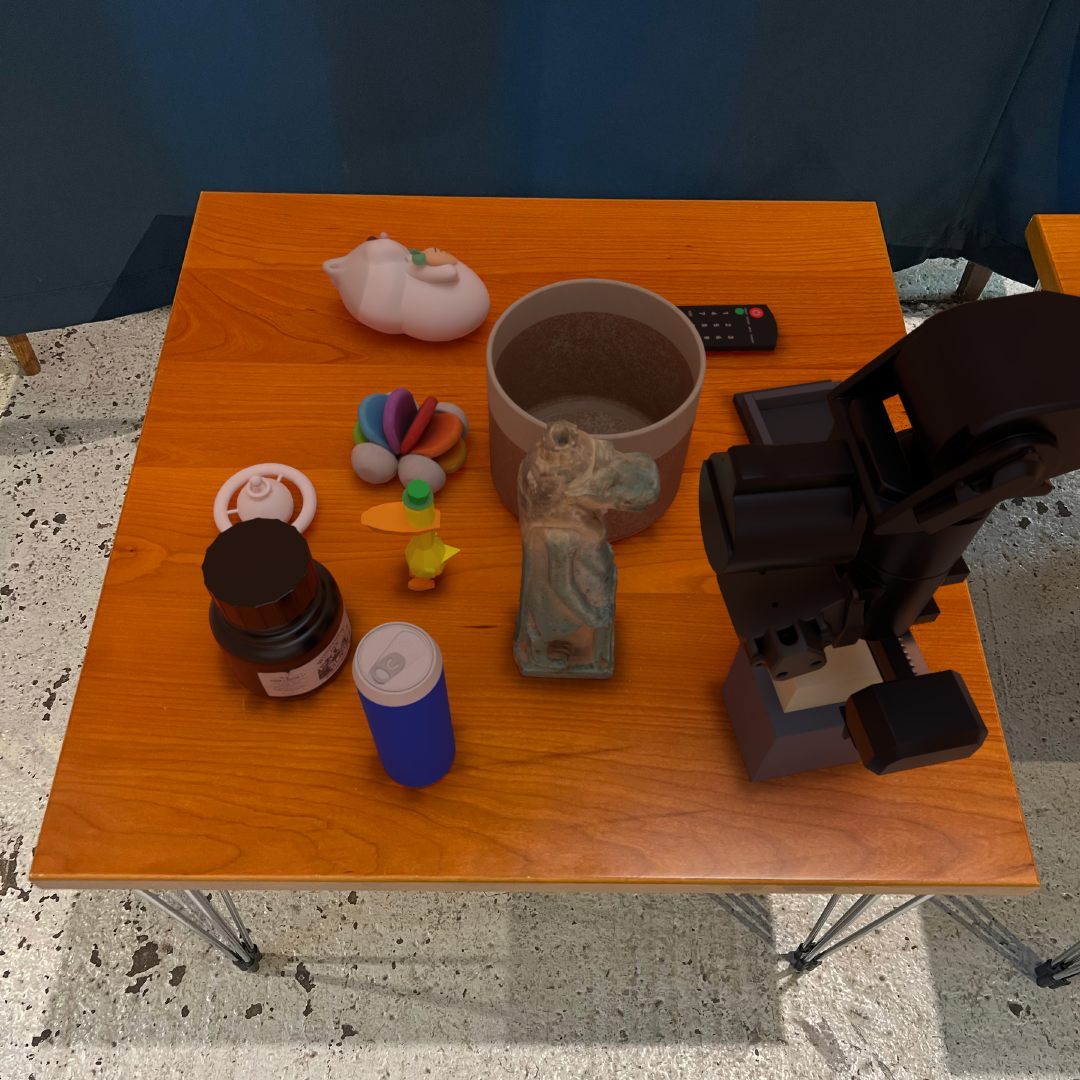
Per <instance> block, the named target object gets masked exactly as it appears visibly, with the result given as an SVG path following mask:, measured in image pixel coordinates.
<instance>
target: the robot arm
mask: <svg viewBox="0 0 1080 1080" xmlns="http://www.w3.org/2000/svg"><path fill="white" fill-rule="evenodd" d="M842 381H843V382H842V383H840V384H839V385H838V386H836V387H835V388H834V389H832V390H831V391H830V392H828V393H827V394H826V401H827V404H828V407H829V409H830V412H831V415H832V418H833V420H834V424H833V426H832V429H831V431H830V434H829V436H828V438H827V440H826V441H817V442H805V443H792V444H779V445H770V444H750V443H747V444H746V443H744V444H733V445H731V446H730V447H728V448H727V449H726V451H716V452H712V453H710V454H709V456H708V458H707V459H703V460H702V463H701V466H700V472H699V477H698V479H699V480H698V516H699V524H700V525H699V526H700V532H701V540H702V544H703V549H704V552H705V555H706V558H707V562H708V564H709V566H710V568H711V569H712V571H713V572H714V574H715V576H716V582H717V585H718V589H719V591H720V594H721V597H722V599H723V602H724V606H725V608H726V611H727V613H728V617H729V619H730V622H731V625H732V628H733V630H734V633H735V635H736V637H737V640H738V642H739V645H741V647H742V650H743V652H744V653H745V654H746V656H747V659H748V661H749V664H750V667H751V668H752V669H759V668H767V669H768V670H769V672H770V674H771V677H772V679H773V680H775V681H785V680H788V679H791V678H794V677H797V676H801V675H804V674H807V673H810V672H813V671H816V670H819V669H821V668H822V667H823V666H825V665H826V663H827V658H826V654H825V652H824V649H825V647H827V646H829V645H832V647H833V649H834V648H839V647H845V646H850V645H854V644H856V643H857V642H858V640H859V639H862V640H865V641H866V644H867V646H868V648H869V651H870V653H871V655H872V657H873V660H874V662H875V664H876V667H877V669H878V671H879V674H880V676H881V678H882V680H883V682H881V683H876V684H872V685H869V686H867V687H865V688H863V689H861V690H859V691H857V692H855V693H853V694H851V695H850V696H849V698H848V699H847V701H846V702H845V705H844V706H839V707H838V708H839V711H840V713H841V715H842V718H843V720H844V723H845V726H844V728H843V732H842V736H843V739H844V740H848V739H851V740H852V743H853V745H854V747H855V749H856V750H857V751H858V753H859V755H860V758H861V760H860V761H861V763H862V765H863V768H864V769H865V770H867V771H869V772H871V773H872V774H875V775H876V776H878V777H881V776H885V775H891V774H895V773H896V774H897V773H900V772H905V771H910V770H916V769H920V768H924V767H929V766H934V765H940V764H945V763H950V762H954V761H959V760H964V759H970V758H971V757H972V756H973V755H974V754H975V753H976V752H977V751H979V750H980V748H981V747H983V745H984V743H985V741H986V739H987V737H988V735H989V732H990V731H989V730H988V728H987V725H986V723H985V721H984V719H983V717H982V715H981V713H980V711H979V709H978V707H977V704H976V702H975V700H974V698H973V696H972V695H971V692H970V690H969V688H968V686H967V684H966V682H965V680H964V678H963V676H962V674H961V673H960V672H957V671H956V670H954V669H952V668H950V669H949V668H948V669H945V670H944V669H943V670H939V671H934V672H931V671H930V669H929V666H928V664H927V662H926V660H925V658H924V655H923V654H922V651H921V649H920V647H919V645H918V643H917V641H916V638H915V637H914V634H913V632H912V630H911V627H912V626H918V625H922V624H923V625H924V624H927V623H929V624H930V623H933V622H935V621H936V620H937V618H938V617H939V616H940V614H941V613H942V611H941V609H940V608H939V606H938V603H937V601H936V600H935V598H934V597H935V593H936V592H937V591H938V589H939V588H940V587H946V586H952V585H957V584H962V583H964V582H965V580H966V579H967V578H968V576H969V575H970V574H971V570H970V568H969V566H968V564H967V562H966V560H965V558H964V557H963V554H964V552H965V551H966V550H967V548H968V547H969V545H970V544H971V543H972V541H973V540H974V538H975V537H976V535H977V534H978V532H979V531H980V529H981V528H982V526H984V524H985V522H986V521H987V519H988V518H989V517H990V515H991V514H992V513H993V511H994V510H995V508H996V506H997V505H998V504H999V503H1001V502H1004V501H1006V500H1012V499H1023V498H1024V499H1025V498H1036V497H1037V498H1038V497H1045V496H1048V495H1049V494H1050V493H1052V491H1053V490H1054V485H1053V484H1052V483H1053V482H1052V481H1051V479H1054V478H1057V477H1061V476H1063V475H1066V474H1069V473H1073V472H1075V471H1078V470H1080V296H1079V295H1073V294H1068V293H1063V292H1057V291H1053V290H1046V289H1042V290H1041V289H1040V290H1032V291H1027V292H1022V293H1015V294H1009V295H1008V294H1007V295H1003V296H996V297H990V298H985V299H977V300H972V301H966V302H963V303H959V304H956V305H954V306H951V307H948V308H945V309H943V310H940V311H938V312H936V313H934V314H933V315H931V316H929V317H927V318H926V319H924V321H922V323H921V324H919V325H918V326H917V327H915V328H913V329H912V330H911V331H910V332H908V333H907V334H905V335H904V336H903V337H901V338H900V339H899V340H898V341H896V342H895V343H893V344H891V346H889V347H888V348H886V349H885V350H884V351H882V352H881V353H880V354H878V355H877V356H876V357H874V358H873V359H872V360H870V361H869V362H868V363H866V364H864V365H863V366H862V367H861V368H859V369H858V370H857V371H856V372H854V373H853V374H851V375H850V376H848V377H847V378H846V379H844V380H842ZM897 395H898V397H899V400H900V402H901V405H902V407H903V409H904V412H905V414H906V417H907V419H908V421H909V424H910V427H907V428H904V429H901V430H898V431H896V430H895V428H894V425H893V422H892V420H891V418H890V415H889V413H888V410H887V408H886V406H885V403H884V401H886V400H889V399H891V398H893V397H895V396H897Z"/></svg>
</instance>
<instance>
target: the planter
mask: <svg viewBox="0 0 1080 1080" xmlns="http://www.w3.org/2000/svg"><path fill="white" fill-rule="evenodd" d="M676 306H677V305H675V304H673V303H672V302H671V301H670V300H668V299H666V298H665V297H663V296H661V295H660V294H657V293H656V292H654V291H651V290H649V289H647V288H644V287H642V286H639V285H636V284H633V283H630V282H626V281H621V280H616V279H609V278H608V279H607V278H594V277H593V278H591V277H589V278H575V279H566V280H562V281H557V282H554V283H553V282H552V283H549V284H547V285H544V286H541V287H538V288H536V289H534V290H532V291H530V292H528V293H526V294H525V295H523V296H521V297H520V298H518V299H517V300H516V301H514V302H513V303H511V304H510V305H509V306H508V307H507V308H506V309H505V310H504V311H503V312H502V313H501V315H500V316H499V317H498V319H497V320H496V321H495V322H494V325H493V326H492V329H491V330H490V333H489V336H488V338H487V343H486V349H485V366H486V391H487V392H486V393H487V416H488V439H489V441H488V443H489V444H488V445H489V467H490V468H489V469H490V475H491V480H492V485H493V487H494V489H495V491H496V493H497V495H498V497H499V499H500V500H501V502H502V503H503V505H504V506H505V507H506V509H507V510H509V512H510V513H511V514H512V515H513V516H514V517H515V518H517V520H519V508H518V498H517V478H518V473H519V466H520V464H521V462H522V460H523V459H525V457H526V455H527V453H528V451H529V450H530V448H531V447H532V446H533V445H534V444H535V443H536V442H537V441H539V440H540V439H541V437H542V434H543V433H544V431H545V430H546V429H547V422H556V421H562V420H565V421H568V422H570V423H572V424H575V425H577V428H578V429H579V430H581V431H584V432H586V433H587V434H588V435H589V436H591V437H592V438H593V439H598V440H609V441H611V442H612V443H613V445H614V449H615V450H617V451H619V452H621V453H623V454H625V453H633V452H640V453H646V454H648V455H650V456H652V459H653V460H654V462H655V463H656V464H657V467H658V470H659V475H660V485H661V491H660V496H659V498H658V499H657V500H656V501H655V502H654V503H651V504H648V506H647V508H646V510H644V511H641V512H639V513H635V512H626V511H621V510H617V509H609V510H608V512H607V513H605V514H604V516H605V519H606V522H607V526H608V530H609V536H608V538H607V540H606V541H608V542H609V543H611V542H616V541H620V540H623V539H627V538H629V537H632V536H634V535H636V534H638V533H640V532H642V531H644V530H645V529H647V528H649V527H650V526H652V525H653V524H654V523H656V522H657V521H658V520H659V519H661V517H662V516H663V515H664V514H665V513H666V512H667V511H668V509H669V508H670V507H671V505H672V504H673V502H674V501H675V499H676V496H677V494H678V492H679V489H680V486H681V481H682V477H683V474H684V469H685V464H686V459H687V455H688V451H689V448H690V443H691V438H692V434H693V430H694V425H695V421H696V417H697V412H698V407H699V404H700V398H701V394H702V390H703V386H704V383H705V377H706V373H707V356H706V352H705V349H704V346H703V342H702V340H701V337H700V335H699V333H698V331H697V330H696V328H695V327H694V325H693V324H692V322H691V321H690V320H689V319H688V318H687V316H686V315H685V314H684V313H683V312H682V311H681V310H679V309H678V308H677V307H676Z"/></svg>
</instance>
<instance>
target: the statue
mask: <svg viewBox="0 0 1080 1080" xmlns="http://www.w3.org/2000/svg"><path fill="white" fill-rule="evenodd" d="M660 491H661V485H660V475H659V470H658V467H657V464H656V463H655V462H654V460H653V459H652V456H650V455H648V454H646V453H640V452H633V453H625V454H623V453H621V452H619V451H617V450H615V449H614V445H613V443H612V442H611V441H609V440H598V439H593V438H592V437H591V436H589V435H588V434H587V433H586V432H584V431H581V430H579V429H578V428H577V425H575V424H572V423H570V422H568V421H565V420H562V421H556V422H547V429H546V430H545V431H544V433H543V434H542V437H541V439H540V440H539V441H537V442H536V443H535V444H534V445H533V446H532V447H531V448H530V450H529V451H528V453H527V455H526V457H525V459H523V460H522V462H521V464H520V466H519V473H518V478H517V498H518V508H519V519H518V520H519V529H520V534H521V575H520V587H519V588H520V589H519V599H518V602H519V605H518V610H517V613H516V617H515V621H514V625H515V629H514V631H513V634H512V642H513V644H512V657H513V660H514V663H515V665H516V666H517V667H518V671H519V673H520V674H521V676H523V677H534V678H552V679H553V678H554V679H555V678H556V679H557V678H558V679H597V680H607V679H608V680H609V679H610V678H612V677H613V676H614V675H615V640H616V639H615V636H616V635H615V632H616V631H615V618H616V612H617V611H616V609H617V604H616V595H617V589H618V583H619V581H618V577H619V576H618V575H619V572H618V566H617V564H616V563H615V562H614V559H615V557H616V554H615V552H614V547H613V545H612V544H610V542H608V541H606V540H607V538H608V536H609V530H608V526H607V522H606V519H605V516H604V514H605V513H607V512H608V510H609V509H617V510H621V511H626V512H635V513H639V512H641V511H644V510H646V508H647V506H648V504H651V503H654V502H655V501H656V500H657V499H658V498H659V496H660Z"/></svg>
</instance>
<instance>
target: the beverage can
mask: <svg viewBox="0 0 1080 1080" xmlns="http://www.w3.org/2000/svg"><path fill="white" fill-rule="evenodd" d="M351 673H352V679H353V682H354V685H355V688H356V691H357V694H358V697H359V700H360V703H361V706H362V709H363V711H364V715H365V718H366V722H367V724H368V727H369V729H370V733H371V735H372V739H373V742H374V745H375V748H376V751H377V754H378V756H379V760H380V763H381V766H382V768H383V770H384V772H385V773H386V775H387V776H388V777H389V778H390V779H391V780H392V781H394V782H395V783H397V784H399V785H401V786H404V787H407V788H424V787H428V786H431V785H433V784H435V783H437V782H439V781H440V780H441V779H442V778H444V777H445V776H446V774H447V773H448V772H449V771H450V769H451V767H452V766H453V764H454V761H455V758H456V741H455V740H456V739H455V733H454V727H453V720H452V714H451V707H450V700H449V695H448V687H447V681H446V674H445V668H444V661H443V655H442V652H441V649H440V647H439V645H438V643H437V642H436V640H435V639H434V638H433V637H432V636H431V635H430V634H429V633H428V632H427V631H425V630H424V629H422V627H420V626H418V625H416V624H413V623H410V622H406V621H390V622H385V623H381V624H380V625H377V626H375V627H373V628H372V629H370V631H368V632H367V633H366V634H365V635H364V636H363V637H362V638H361V640H360V641H359V643H358V645H357V647H356V650H355V653H354V656H353V659H352V663H351Z"/></svg>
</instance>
